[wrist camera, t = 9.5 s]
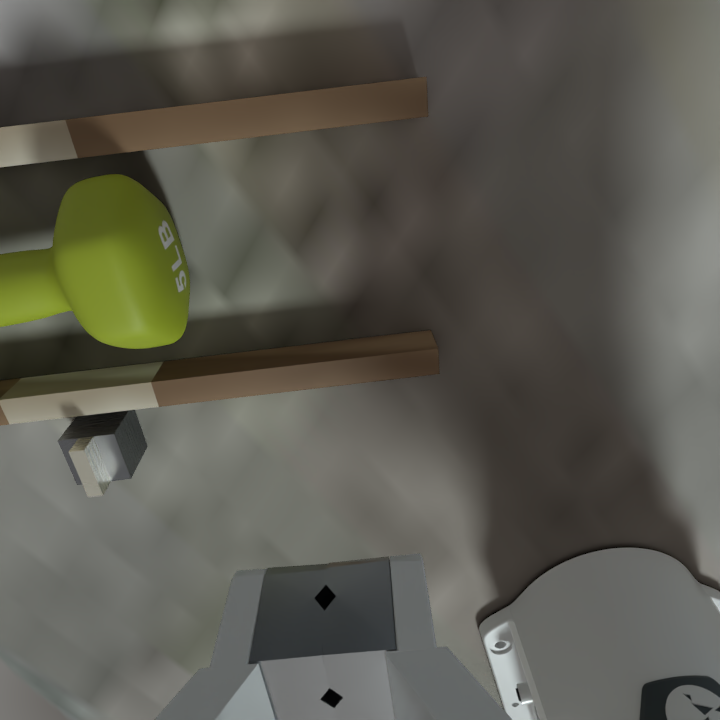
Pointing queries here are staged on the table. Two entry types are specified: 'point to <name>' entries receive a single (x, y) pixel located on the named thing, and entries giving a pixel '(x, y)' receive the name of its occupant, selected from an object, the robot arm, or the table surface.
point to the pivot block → (103, 449)
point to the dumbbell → (104, 267)
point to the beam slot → (235, 369)
